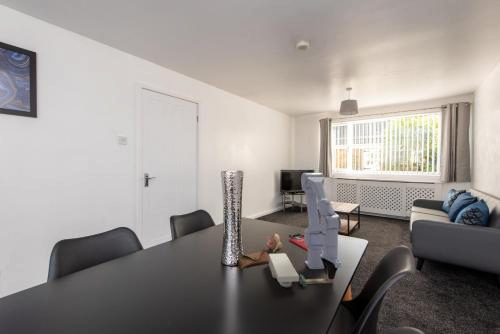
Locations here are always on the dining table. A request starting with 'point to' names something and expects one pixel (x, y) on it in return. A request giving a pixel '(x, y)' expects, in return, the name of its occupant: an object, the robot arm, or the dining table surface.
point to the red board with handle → (299, 240)
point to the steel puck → (285, 284)
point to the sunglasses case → (253, 259)
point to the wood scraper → (313, 280)
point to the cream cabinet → (282, 268)
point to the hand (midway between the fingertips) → (329, 277)
